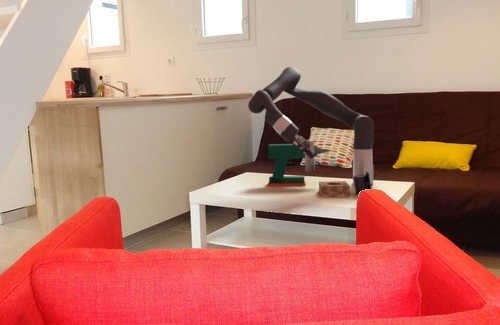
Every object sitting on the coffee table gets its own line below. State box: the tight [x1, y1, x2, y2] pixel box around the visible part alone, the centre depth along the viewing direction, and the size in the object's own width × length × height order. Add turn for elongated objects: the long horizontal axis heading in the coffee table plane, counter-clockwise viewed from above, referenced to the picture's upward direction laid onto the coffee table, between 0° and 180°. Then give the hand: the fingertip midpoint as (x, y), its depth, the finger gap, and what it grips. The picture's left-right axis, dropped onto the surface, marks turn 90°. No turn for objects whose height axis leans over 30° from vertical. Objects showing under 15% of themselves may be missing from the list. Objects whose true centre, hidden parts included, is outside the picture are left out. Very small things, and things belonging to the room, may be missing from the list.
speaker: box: [352, 171, 372, 196], centre depth 202 cm, size 8×6×10 cm
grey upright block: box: [304, 139, 316, 172], centre depth 197 cm, size 7×4×13 cm, turn 162°
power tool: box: [267, 143, 333, 187], centre depth 228 cm, size 32×7×20 cm, turn 84°
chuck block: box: [318, 180, 351, 198], centre depth 205 cm, size 12×12×4 cm
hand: (314, 156), depth 196 cm, fingers closed on grey upright block, 4 cm apart
